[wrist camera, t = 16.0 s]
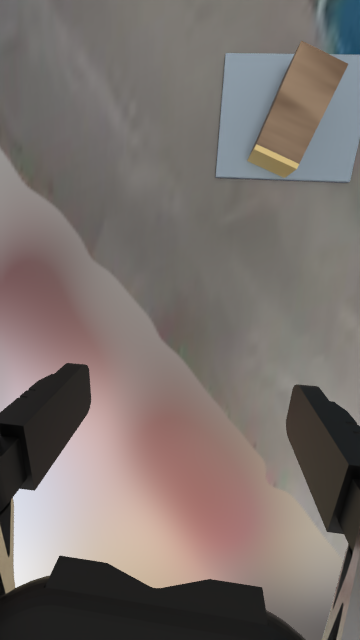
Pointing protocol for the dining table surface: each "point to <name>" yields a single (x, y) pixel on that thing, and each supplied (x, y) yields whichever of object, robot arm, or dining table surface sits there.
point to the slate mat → (253, 106)
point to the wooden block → (297, 110)
